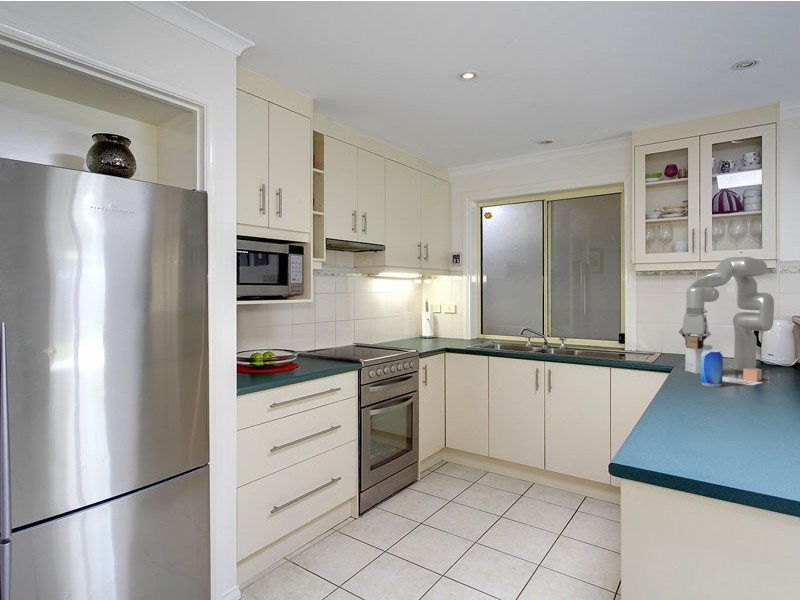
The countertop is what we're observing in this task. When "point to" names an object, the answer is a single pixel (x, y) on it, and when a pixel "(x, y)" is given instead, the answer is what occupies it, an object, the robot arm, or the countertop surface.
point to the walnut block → (692, 342)
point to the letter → (740, 381)
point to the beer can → (711, 368)
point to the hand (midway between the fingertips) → (694, 347)
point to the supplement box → (694, 358)
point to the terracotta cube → (752, 374)
